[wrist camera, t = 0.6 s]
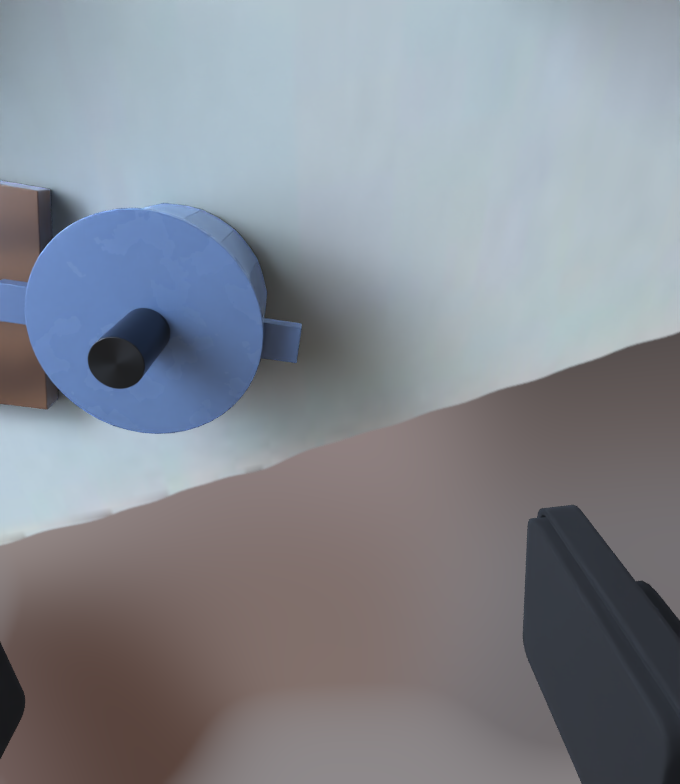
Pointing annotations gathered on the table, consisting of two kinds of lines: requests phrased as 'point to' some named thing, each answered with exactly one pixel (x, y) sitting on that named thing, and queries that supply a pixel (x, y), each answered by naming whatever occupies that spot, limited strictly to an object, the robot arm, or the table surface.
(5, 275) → the board
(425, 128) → the table surface
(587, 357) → the table surface
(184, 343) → the lid
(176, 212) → the pot
